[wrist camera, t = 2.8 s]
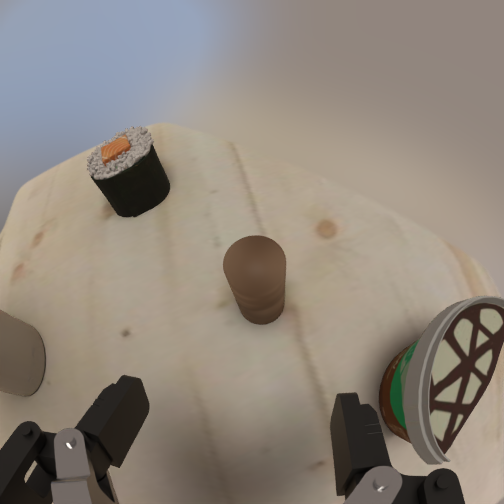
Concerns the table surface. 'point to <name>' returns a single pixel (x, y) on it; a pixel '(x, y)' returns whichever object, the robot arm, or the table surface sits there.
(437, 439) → the food container
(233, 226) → the table surface
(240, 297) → the walnut cylinder
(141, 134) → the sushi
